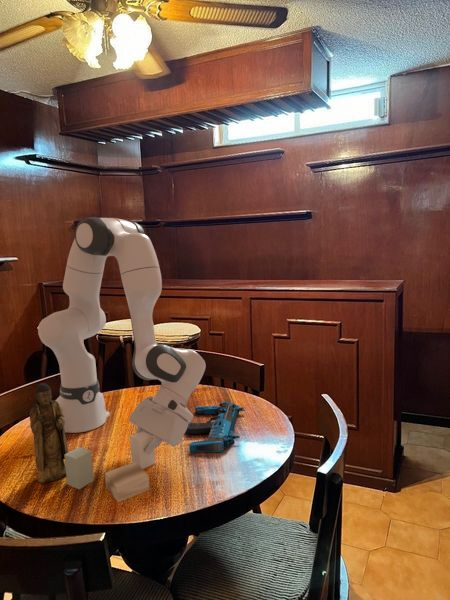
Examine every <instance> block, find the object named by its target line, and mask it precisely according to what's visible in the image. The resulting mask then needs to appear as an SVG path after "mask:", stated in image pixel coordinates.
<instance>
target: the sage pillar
mask: <svg viewBox="0 0 450 600" xmlns="http://www.w3.org/2000/svg"><path fill="white" fill-rule="evenodd" d="M64 457H65V459H64V464H65V466H66V484H67V485H68V486H69V487H72V488H74V489H76V490H81V489H83V488H84V487H86V486H87V485H90V483H92V482H93V481H94V479H95V478H94V469H93V459H92V458H93V457H92V451H91V450H89V449H86V448H83V447H81V446H78V447H76V448H74V449H72V450H70V451H68V453H67V454H65V455H64Z"/></svg>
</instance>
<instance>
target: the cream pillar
mask: <svg viewBox="0 0 450 600" xmlns="http://www.w3.org/2000/svg"><path fill="white" fill-rule="evenodd" d="M153 438H154V436H153V435H152V434H150V433H148V432H146V431H142V432H139V433H136V434H135V433H134V434H132V435H129V441H130V442H129V443H130V453H131V455H130V457H131V463H134V462H136V463H137V464H138V465H139V466H140V467H141V468H142V469H143V470H144V469H147V468H149V467H151V466H153V465H155V464H156V457H155V456H156V454H155V449H154V450H153V451H152V453H151V454H150V455H149V454H147V453H146V452H144V448H145V446H146V445H148V446H149V444H150V443H151V442H152V441H153Z"/></svg>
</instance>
